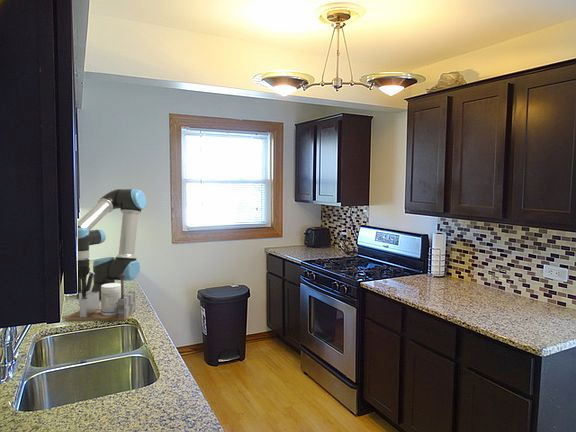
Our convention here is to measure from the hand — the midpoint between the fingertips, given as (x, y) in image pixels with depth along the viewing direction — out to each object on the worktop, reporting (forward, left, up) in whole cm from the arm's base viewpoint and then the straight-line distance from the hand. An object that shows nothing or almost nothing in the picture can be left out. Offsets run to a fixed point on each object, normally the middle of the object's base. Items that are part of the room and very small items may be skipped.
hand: (81, 305), depth 207 cm
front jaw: (0, +4, -4) cm, 6 cm away
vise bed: (0, +10, -5) cm, 11 cm away
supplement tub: (0, +15, -4) cm, 15 cm away
